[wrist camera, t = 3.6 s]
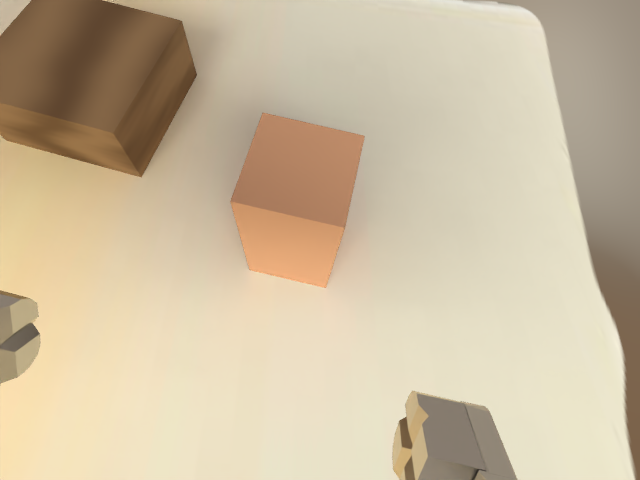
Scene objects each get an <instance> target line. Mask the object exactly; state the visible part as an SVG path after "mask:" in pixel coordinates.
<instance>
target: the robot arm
mask: <svg viewBox="0 0 640 480" xmlns="http://www.w3.org/2000/svg"><path fill="white" fill-rule="evenodd" d="M38 316H39V315H38V308H37V303H36V302H35V301H33V300H32V299H30V298H27V297H23V296H19V295H16V294H12V293H8V292H4V291H1V290H0V384H1V383H3V382H5V381H8V380H11V379H14V378H17V377H18V376H20V375H21V374H22V373H23V372H24V371H25V370H27V369H28V368H29V367H30V365H31V364H32V362H33V361H34V359H35V358H36V356H37V355H38V351H39V347H40V333H39V332H38V330H37V329H36V327H35V326H34V325H33V322H34V321H35V320H36V319H37V318H38ZM405 407H406V415H407V417H405V418H403V419H402V420H400V421H399V423H398V426H397V429H396V432H395V437H394V443H393V455H392V460H393V470H394V472H395V473H396V475H397V476H398V478H399V480H517V477H516V475H515V472H514V470H513V468H512V465H511V463H510V460H509V458H508V455H507V453H506V450H505V448H504V446H503V443H502V441H501V438H500V436H499V433H498V431H497V428H496V426H495V424H494V421H493V419H492V416H491V414H490V411H489V410H488V409H487V408H486V407H485V406H480V405H476V404H471V403H466V402H462V401H461V402H458V401H455V400H450V399H446V398H442V397H438V396H433V395H429V394H425V393H420V392H416V391H412V392H411V393H410V395H409V397H408V399H407V402H406V404H405Z"/></svg>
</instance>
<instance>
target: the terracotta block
mask: <svg viewBox="0 0 640 480" xmlns="http://www.w3.org/2000/svg"><path fill="white" fill-rule="evenodd" d="M364 137H365V136H363V135H358V134H354V133H350V132H345V131H341V130H336V129H332V128H328V127H323V126H319V125H314V124H310V123H306V122H301V121H297V120H293V119H288V118H284V117H279V116H275V115H271V114H266V113H262V116H261V119H260V121H259V124H258V127H257V130H256V132H255V135H254V138H253V141H252V143H251V146H250V149H249V152H248V154H247V157H246V160H245V163H244V165H243V168H242V171H241V174H240V176H239V179H238V182H237V185H236V187H235V190H234V193H233V196H232V198H231V201H230V202H231V205H232V209H233V212H234V216H235V220H236V223H237V227H238V230H239V234H240V237H241V241H242V245H243V248H244V252H245V255H246V259H247V262H248V266H249V270H252V271H256V272H260V273H265V274H269V275H273V276H277V277H282V278H286V279H290V280H294V281H298V282H303V283H307V284H311V285H315V286H320V287H324V288H326V285H327V282H328V279H329V276H330V273H331V270H332V267H333V264H334V260H335V257H336V254H337V251H338V248H339V245H340V242H341V238H342V235H343V232H344V229H345V225H346V220H347V216H348V211H349V206H350V202H351V197H352V192H353V188H354V183H355V178H356V174H357V169H358V164H359V160H360V155H361V151H362V146H363V141H364Z"/></svg>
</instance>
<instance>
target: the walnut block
mask: <svg viewBox="0 0 640 480" xmlns="http://www.w3.org/2000/svg"><path fill="white" fill-rule="evenodd" d="M195 77H196V71H195V67H194V64H193V60H192V56H191V53H190V49H189V45H188V42H187V38H186V35H185V31H184V27H183V24H182V21H180V20H176V19H172V18H168V17H165V16H161V15H157V14H153V13H149V12H145V11H141V10H137V9H133V8H130V7H126V6H122V5H118V4H114V3H110V2H106V1H102V0H32V1H31V2H30V3H29V4H28V5H27V6H26V7H25V8H24V10H23V11H22V12H21V13H20V14H19V15H18V16H17V18H16V19H15V20H14V21H13V22H12V23H11V24H10V26H9V27H8V28H7V29H6V30H5V31H4V32H3V33H2V35H1V36H0V135H1V136H2V137H3V138H4V139H5V140H7V141H11V142H14V143H18V144H22V145H25V146H29V147H33V148H36V149H40V150H44V151H47V152H51V153H55V154H58V155H62V156H66V157H69V158H73V159H77V160H80V161H84V162H88V163H91V164H95V165H99V166H102V167H106V168H110V169H113V170H117V171H121V172H124V173H128V174H132V175H135V176H139V177H142V175H143V173H144V171H145V169H146V168H147V166H148V164H149V162H150V160H151V158H152V157H153V155H154V153H155V151H156V149H157V147H158V146H159V144H160V142H161V140H162V138H163V136H164V134H165V133H166V131H167V129H168V127H169V125H170V123H171V122H172V120H173V118H174V116H175V114H176V112H177V111H178V109H179V107H180V105H181V103H182V101H183V99H184V98H185V96H186V94H187V92H188V90H189V88H190V87H191V85H192V83H193V81H194V79H195Z"/></svg>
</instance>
